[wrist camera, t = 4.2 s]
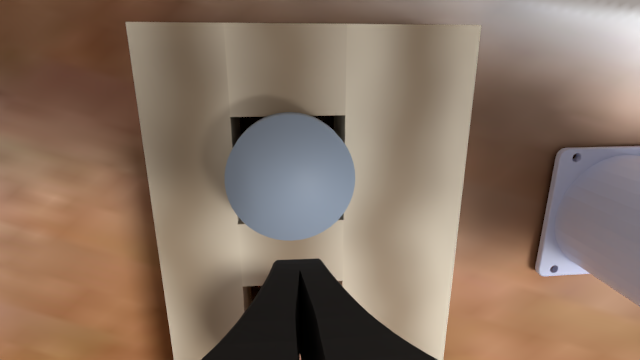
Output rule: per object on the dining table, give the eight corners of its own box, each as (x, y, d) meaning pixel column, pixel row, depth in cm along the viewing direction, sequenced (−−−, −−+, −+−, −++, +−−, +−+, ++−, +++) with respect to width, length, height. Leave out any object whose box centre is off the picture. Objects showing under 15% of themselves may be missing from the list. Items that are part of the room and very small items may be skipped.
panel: (445, 32, 19) (481, 24, 15) (408, 449, 27) (426, 503, 23) (155, 30, 17) (125, 21, 14) (209, 470, 25) (198, 531, 22)
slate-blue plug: (338, 103, 19) (356, 114, 14) (337, 200, 20) (353, 237, 16) (234, 104, 18) (219, 116, 14) (241, 203, 20) (229, 243, 15)
